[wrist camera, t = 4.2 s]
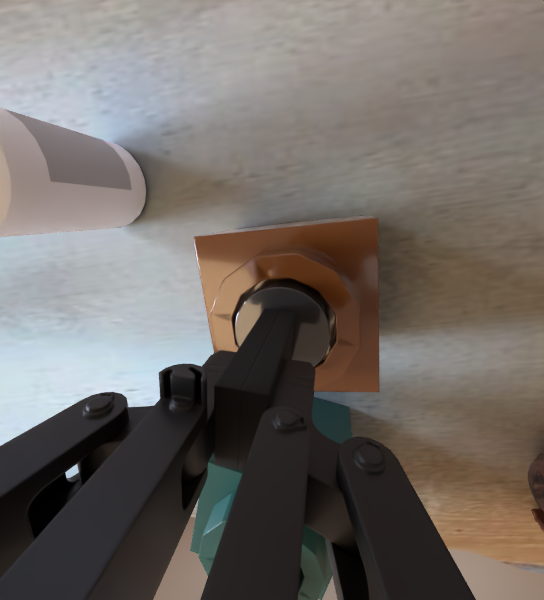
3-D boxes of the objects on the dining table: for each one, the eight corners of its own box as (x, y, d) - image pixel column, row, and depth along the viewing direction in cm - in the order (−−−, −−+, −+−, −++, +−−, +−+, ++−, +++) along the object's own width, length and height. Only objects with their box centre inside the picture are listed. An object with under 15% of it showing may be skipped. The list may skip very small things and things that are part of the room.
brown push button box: (361, 215, 22) (385, 218, 12) (364, 337, 24) (385, 415, 15) (235, 228, 24) (174, 240, 14) (251, 339, 27) (208, 409, 17)
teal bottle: (349, 407, 27) (363, 549, 15) (324, 477, 30) (320, 640, 18) (246, 377, 28) (190, 489, 17) (232, 447, 31) (176, 583, 20)
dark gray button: (327, 272, 15) (327, 283, 13) (332, 353, 17) (332, 377, 14) (242, 278, 16) (227, 289, 14) (253, 354, 18) (241, 376, 15)
